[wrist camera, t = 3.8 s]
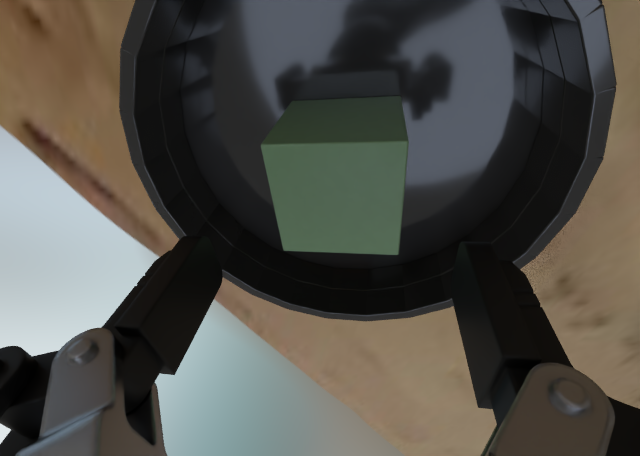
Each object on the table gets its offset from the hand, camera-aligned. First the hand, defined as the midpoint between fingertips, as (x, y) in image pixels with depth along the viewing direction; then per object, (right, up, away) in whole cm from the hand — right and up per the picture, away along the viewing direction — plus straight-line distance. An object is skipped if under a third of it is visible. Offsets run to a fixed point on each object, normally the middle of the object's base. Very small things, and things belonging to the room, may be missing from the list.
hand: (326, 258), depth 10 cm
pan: (+1, +5, +6) cm, 8 cm away
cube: (+1, +5, +6) cm, 8 cm away
